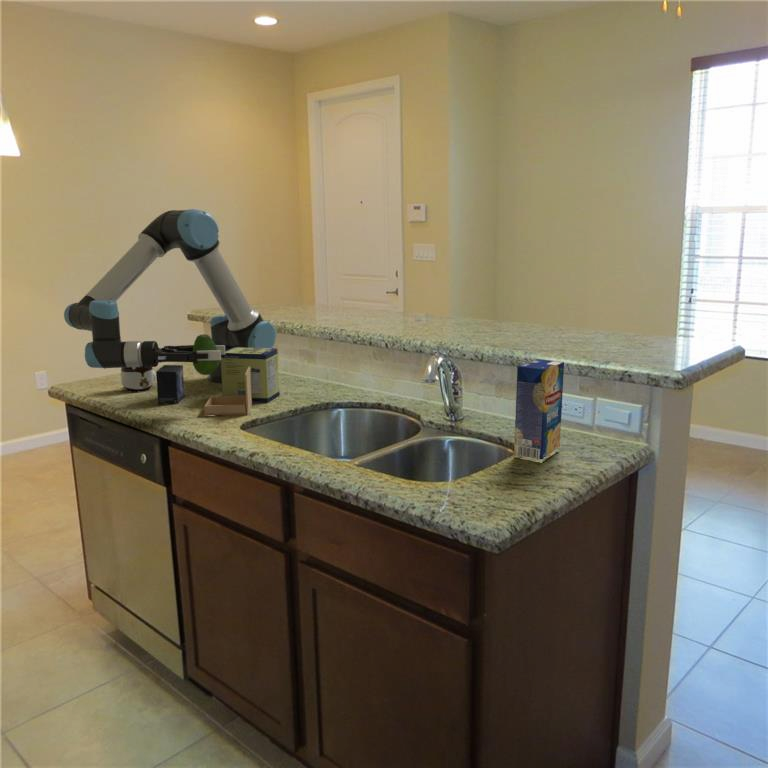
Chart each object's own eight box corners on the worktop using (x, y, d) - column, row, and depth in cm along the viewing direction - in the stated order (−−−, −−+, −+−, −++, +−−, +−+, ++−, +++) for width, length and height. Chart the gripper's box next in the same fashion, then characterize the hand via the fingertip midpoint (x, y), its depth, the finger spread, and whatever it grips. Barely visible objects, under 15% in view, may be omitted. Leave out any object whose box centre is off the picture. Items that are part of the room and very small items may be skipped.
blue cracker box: (559, 451, 170) (564, 361, 165) (541, 463, 162) (545, 369, 157) (533, 446, 174) (537, 358, 169) (513, 458, 165) (517, 366, 161)
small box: (178, 404, 218) (176, 370, 216) (157, 404, 217) (154, 371, 215) (186, 396, 228) (183, 364, 226) (165, 396, 228) (163, 364, 225)
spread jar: (125, 394, 231) (122, 359, 229) (118, 387, 241) (115, 353, 238) (162, 389, 237) (159, 355, 235) (154, 383, 247) (151, 350, 244)
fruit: (227, 373, 207) (224, 333, 205) (207, 378, 201) (205, 337, 198) (206, 371, 211) (204, 331, 209) (187, 376, 205) (184, 335, 202)
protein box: (235, 393, 231) (232, 346, 228) (280, 395, 228) (278, 348, 225) (221, 401, 221) (218, 352, 218) (268, 403, 218) (266, 353, 215)
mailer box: (210, 406, 215) (208, 367, 212) (252, 405, 216) (250, 366, 213) (205, 416, 203) (202, 375, 201) (248, 415, 205) (246, 374, 202)
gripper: (152, 360, 214) (228, 358, 216) (134, 374, 194) (218, 372, 196) (150, 335, 213) (227, 334, 214) (131, 347, 192) (216, 345, 194)
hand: (222, 352), depth 205 cm, fingers closed on fruit, 8 cm apart
